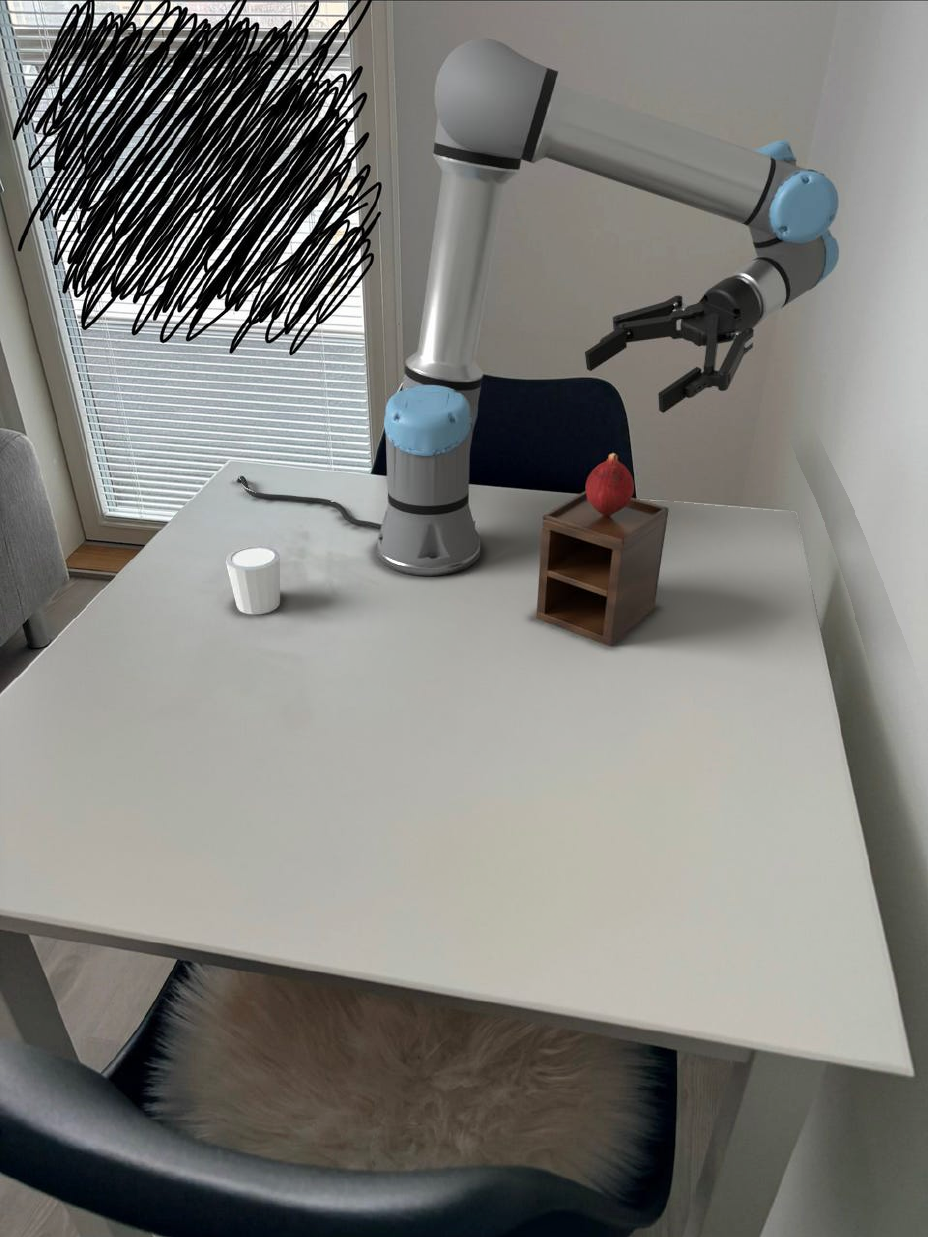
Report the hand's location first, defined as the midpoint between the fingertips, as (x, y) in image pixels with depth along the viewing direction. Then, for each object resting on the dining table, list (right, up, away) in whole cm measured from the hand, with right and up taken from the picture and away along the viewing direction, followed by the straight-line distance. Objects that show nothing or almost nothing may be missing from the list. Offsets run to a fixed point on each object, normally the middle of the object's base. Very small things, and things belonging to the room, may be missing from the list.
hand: (622, 381), depth 112 cm
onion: (-3, -18, -3) cm, 18 cm away
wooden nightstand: (-3, -30, +4) cm, 30 cm away
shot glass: (-48, -29, +5) cm, 56 cm away
